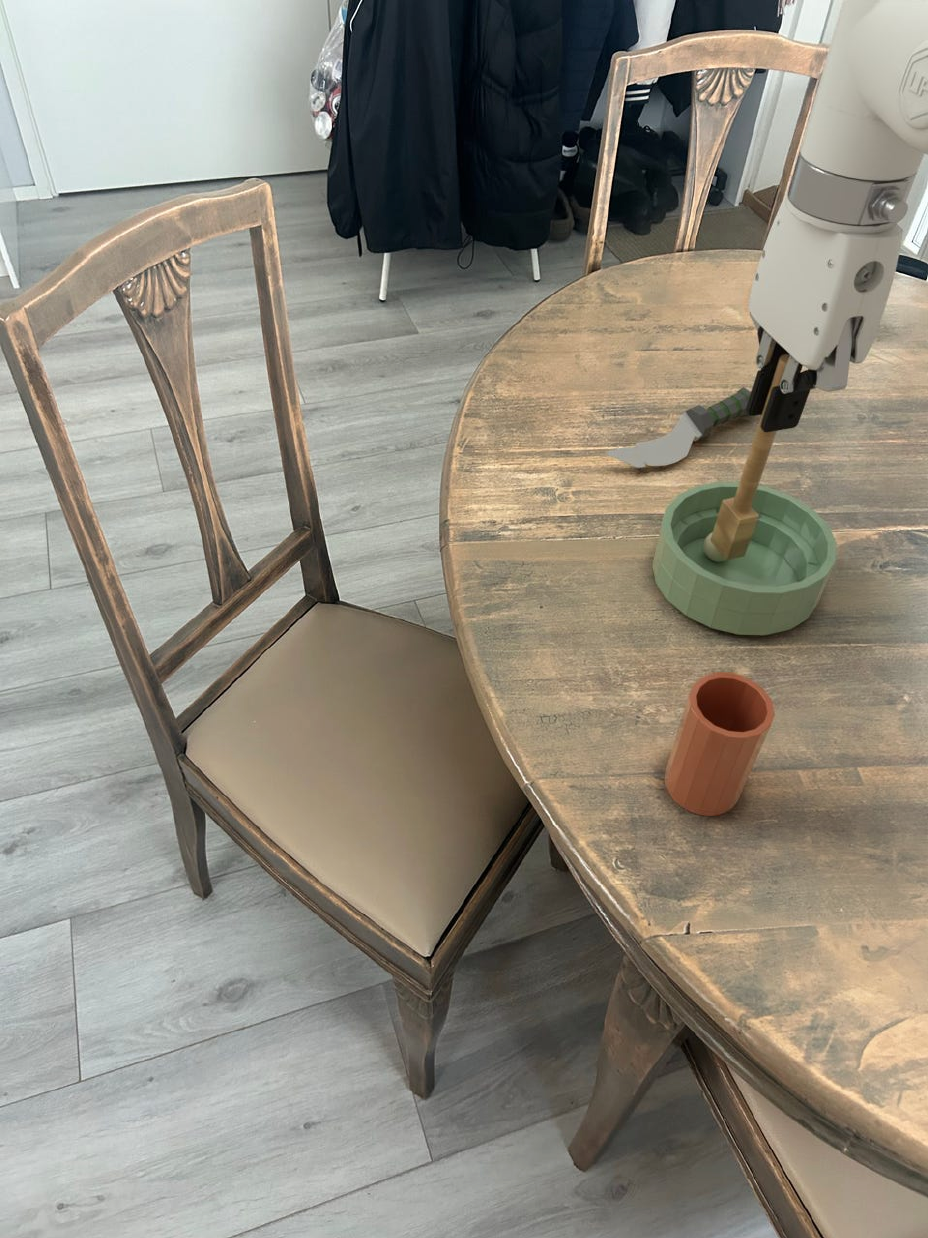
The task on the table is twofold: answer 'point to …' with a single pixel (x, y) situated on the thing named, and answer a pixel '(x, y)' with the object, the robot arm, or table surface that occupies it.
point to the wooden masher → (745, 490)
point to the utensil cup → (717, 742)
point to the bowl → (744, 562)
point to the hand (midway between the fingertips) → (770, 418)
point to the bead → (712, 550)
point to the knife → (684, 433)
